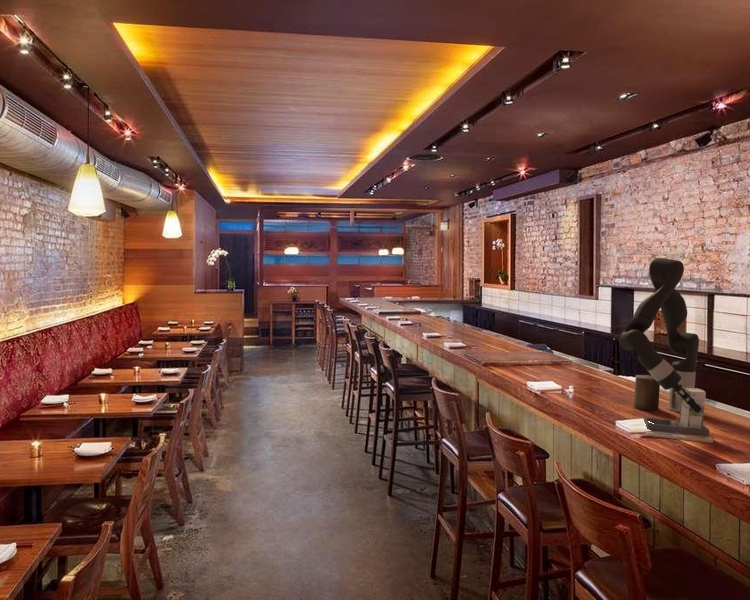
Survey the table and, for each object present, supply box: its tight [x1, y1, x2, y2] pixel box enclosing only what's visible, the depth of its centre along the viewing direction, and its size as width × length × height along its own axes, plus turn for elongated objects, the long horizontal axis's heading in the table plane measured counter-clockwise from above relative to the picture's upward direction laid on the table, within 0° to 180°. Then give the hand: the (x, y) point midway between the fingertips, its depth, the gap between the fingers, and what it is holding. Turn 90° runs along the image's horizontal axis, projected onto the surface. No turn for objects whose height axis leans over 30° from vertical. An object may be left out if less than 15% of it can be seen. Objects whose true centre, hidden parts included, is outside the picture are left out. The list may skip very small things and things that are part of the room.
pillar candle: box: [633, 373, 661, 412], centre depth 250 cm, size 10×10×15 cm
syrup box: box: [678, 387, 707, 429], centre depth 214 cm, size 6×6×14 cm
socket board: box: [642, 416, 714, 444], centre depth 214 cm, size 14×21×4 cm, turn 73°
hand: (697, 408), depth 213 cm, fingers closed on syrup box, 7 cm apart
